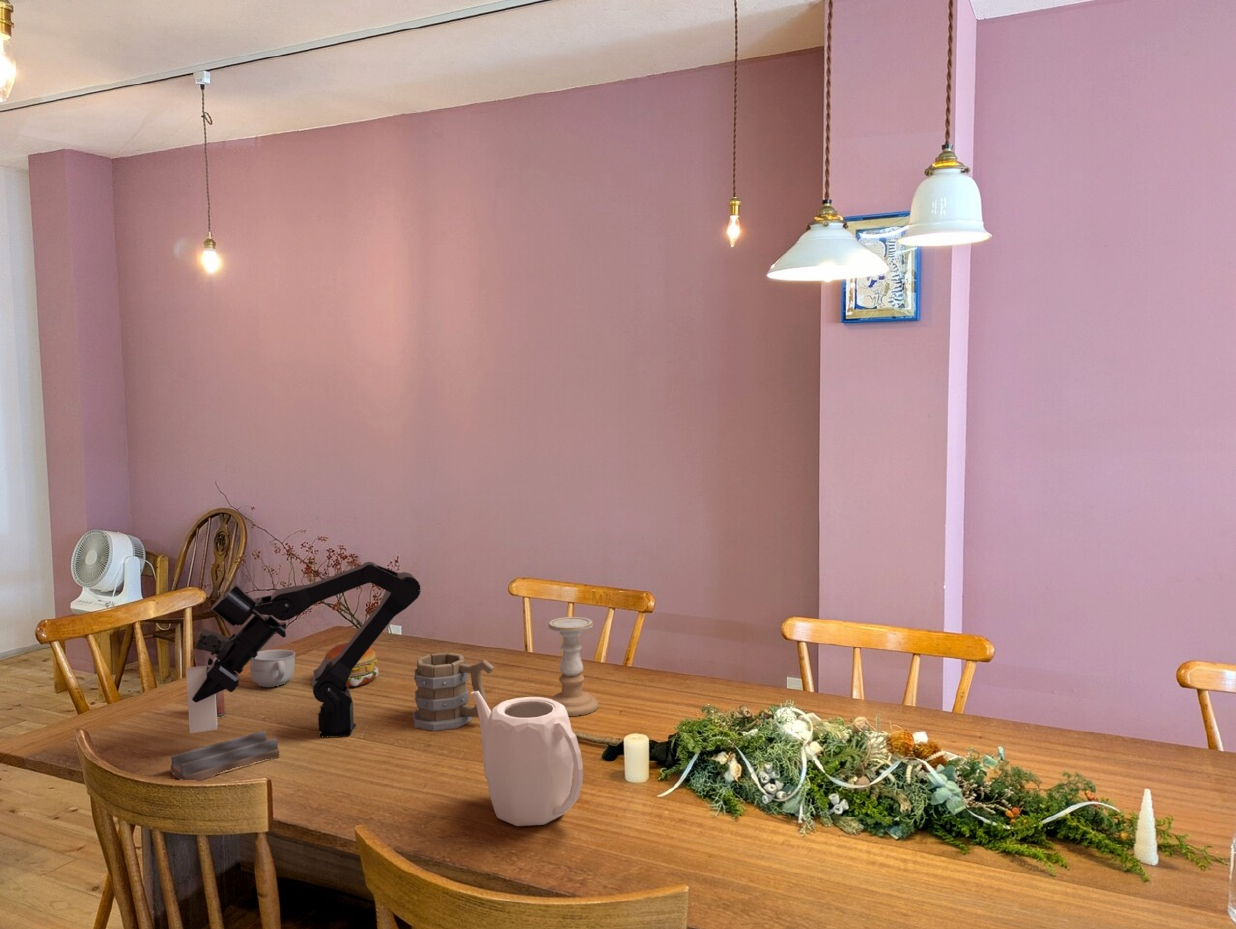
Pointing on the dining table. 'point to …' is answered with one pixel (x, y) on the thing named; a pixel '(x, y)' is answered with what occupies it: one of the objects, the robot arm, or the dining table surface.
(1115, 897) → the dining table surface
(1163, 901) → the dining table surface
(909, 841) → the dining table surface
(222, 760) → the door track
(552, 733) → the watering can
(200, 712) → the door panel
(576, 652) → the candle holder
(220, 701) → the lighter
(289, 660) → the teacup
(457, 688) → the tankard
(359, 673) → the burger
